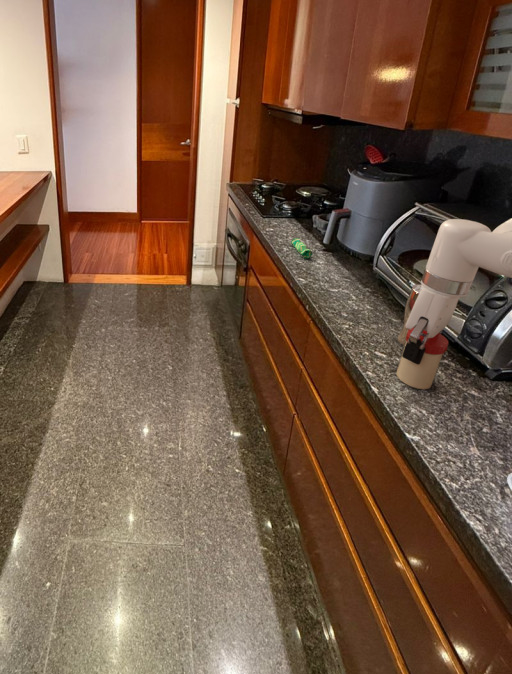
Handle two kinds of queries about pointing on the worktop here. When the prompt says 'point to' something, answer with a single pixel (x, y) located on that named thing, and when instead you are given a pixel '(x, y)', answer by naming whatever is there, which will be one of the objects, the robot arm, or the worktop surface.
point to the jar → (419, 371)
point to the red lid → (433, 343)
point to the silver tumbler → (409, 311)
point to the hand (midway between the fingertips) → (418, 353)
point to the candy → (301, 248)
